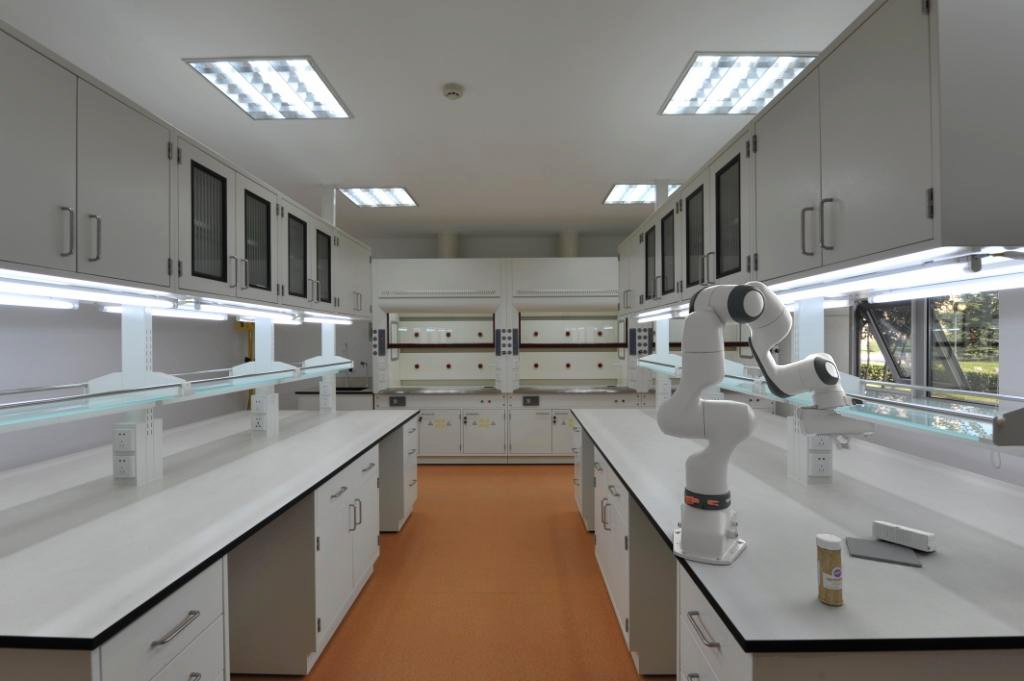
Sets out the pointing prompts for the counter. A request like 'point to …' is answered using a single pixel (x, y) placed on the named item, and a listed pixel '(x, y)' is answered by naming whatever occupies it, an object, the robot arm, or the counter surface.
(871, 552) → the mat
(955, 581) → the counter surface
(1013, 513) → the counter surface
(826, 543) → the sprinkles bottle
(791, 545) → the counter surface
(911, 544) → the skincare box
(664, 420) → the robot arm
